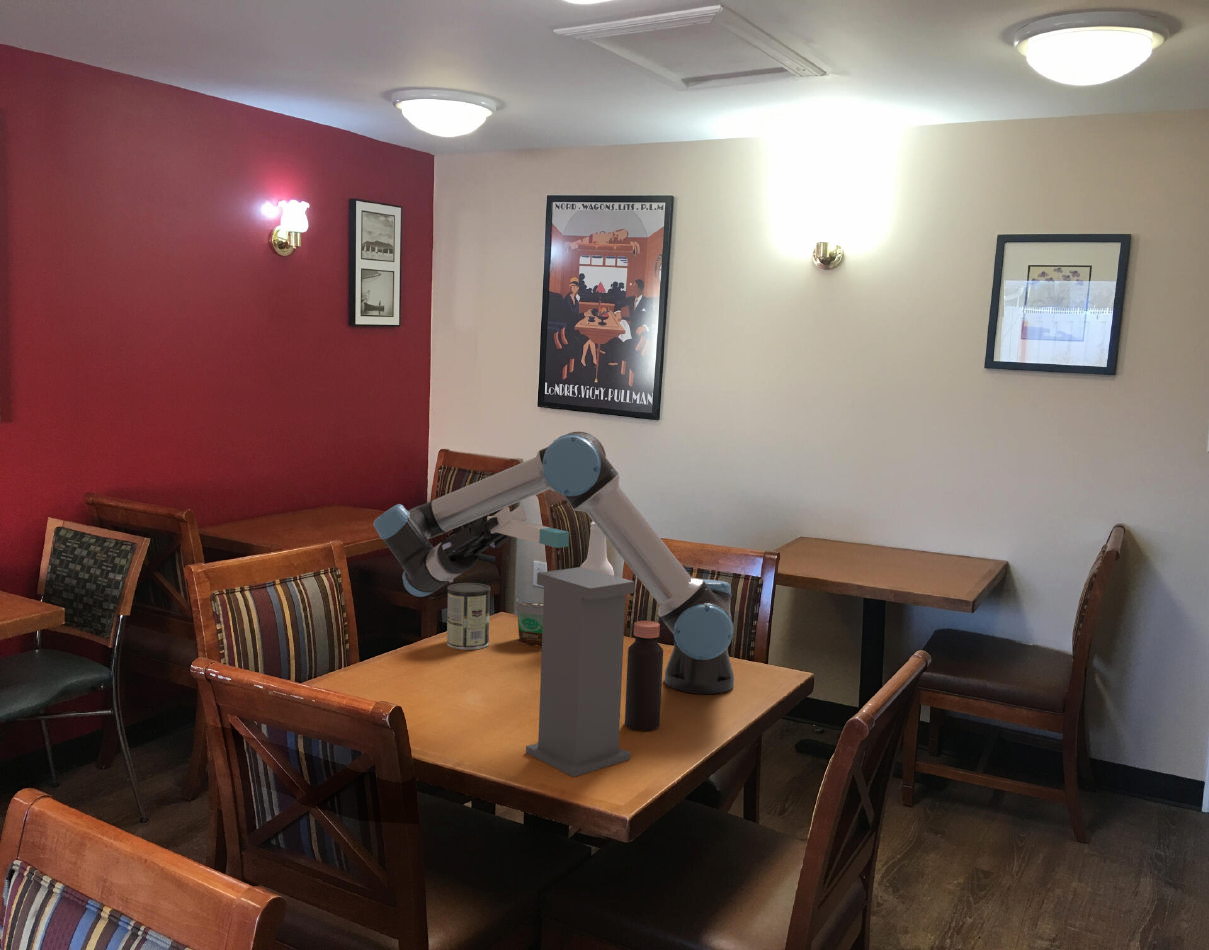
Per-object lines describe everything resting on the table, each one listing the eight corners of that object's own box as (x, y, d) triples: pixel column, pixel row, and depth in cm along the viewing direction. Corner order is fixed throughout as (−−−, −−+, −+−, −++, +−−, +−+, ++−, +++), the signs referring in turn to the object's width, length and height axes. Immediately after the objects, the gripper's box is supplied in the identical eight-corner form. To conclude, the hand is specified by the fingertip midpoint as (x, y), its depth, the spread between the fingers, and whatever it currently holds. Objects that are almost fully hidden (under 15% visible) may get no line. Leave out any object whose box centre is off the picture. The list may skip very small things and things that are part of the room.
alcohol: (571, 638, 252) (576, 519, 249) (605, 636, 254) (610, 519, 251) (580, 647, 244) (585, 525, 240) (615, 646, 246) (620, 525, 243)
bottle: (633, 733, 188) (638, 629, 186) (618, 721, 195) (623, 620, 192) (665, 729, 191) (671, 627, 189) (650, 717, 197) (655, 618, 195)
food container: (507, 644, 244) (508, 604, 243) (514, 638, 250) (515, 598, 249) (557, 649, 242) (558, 608, 241) (562, 642, 248) (564, 602, 247)
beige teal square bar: (486, 530, 191) (487, 516, 191) (497, 529, 193) (498, 515, 193) (557, 547, 176) (557, 533, 176) (568, 546, 178) (569, 531, 177)
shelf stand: (524, 751, 177) (530, 573, 174) (580, 735, 186) (587, 566, 182) (575, 778, 167) (583, 589, 164) (632, 760, 176) (640, 580, 172)
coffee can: (464, 636, 250) (466, 580, 248) (497, 643, 244) (499, 586, 243) (436, 644, 241) (438, 587, 239) (470, 652, 236) (471, 594, 234)
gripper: (489, 570, 207) (554, 528, 191) (424, 578, 196) (487, 535, 180) (479, 536, 209) (543, 492, 193) (414, 543, 198) (476, 496, 182)
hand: (516, 513), depth 186 cm, fingers closed on beige teal square bar, 3 cm apart
